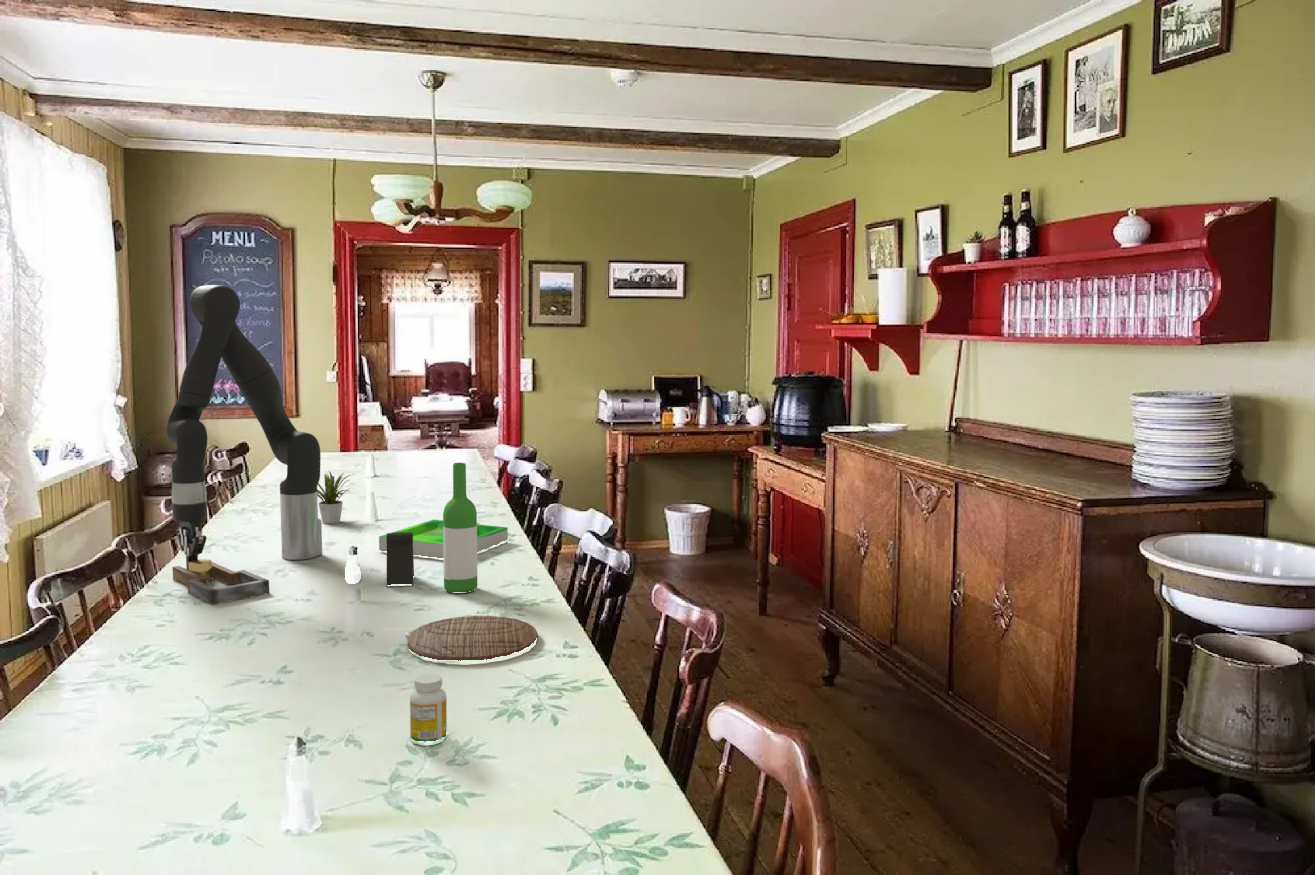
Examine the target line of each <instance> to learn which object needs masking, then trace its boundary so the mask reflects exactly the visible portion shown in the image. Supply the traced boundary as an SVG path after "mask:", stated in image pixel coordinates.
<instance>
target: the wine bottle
mask: <svg viewBox="0 0 1315 875" xmlns="http://www.w3.org/2000/svg"><path fill="white" fill-rule="evenodd" d="M477 514H478V512H477V509H476V506H475V504H474V503H473V501H471V499H469V498H468V497H467V464H466V463H465V462H454V463H453V464H452V498H451V499H450V500H449V501H447V502H446V504H445V506H444V508H443V512H442V520H443V557H444V561H443V588H444V590H445V591H446V590H447V591H449V592H469V591H472V590H474V589H475V590H477V588H478V555H477V524H478V520H477V519H478V518H477V517H478V516H477ZM475 590H474V591H475ZM447 591H446V592H447ZM449 592H448V593H449ZM472 592H473V591H472ZM469 593H470V592H469Z"/></svg>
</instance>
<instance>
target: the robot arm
mask: <svg viewBox="0 0 1315 875" xmlns="http://www.w3.org/2000/svg"><path fill="white" fill-rule="evenodd" d="M189 307H190V311H191V313H192V315H193V316H194V318H195V319H196V321H197V322H198V323H199V324H200V326H201V327H202V328H201V332H200V336H199V339H198V341H197V343H196V346H195V348H194V350H193V352H192V353H191V356H190V358H189V360H188V362H187V363H186V366H185V368H184V370H183V374H182V378H181V382H180V387H179V391H178V397H177V400H176V401H175V403H174V405H173V408H172V410H171V412H170V415H169V417H168V420H167V424H166V435H167V439H168V440H169V441H170V442H171V443H172V444H173V445H176V458H174V459H173V460H172V462H171V478H172V480H171V481H172V483H171V484H172V485H171V505H172V506H171V507H172V508H171V510H172V512H171V513H172V520H173V521H175V522H178V523H179V528H178V529H177V528H176V530H175V534H176V536H177V539H178V542H179V546H180V550H181V552H183V554H184V556H185V559H186V560H185V561H186V562H185V564H186V566H185V567H186V569H187V570H189V562H190V561H194V560H199V555H201V554H202V553H203V551H204V547H205V545H206V542H207V535H203V528H202V524H201V521H203V520H206V519H207V518H208V501H207V500H208V499H207V498H208V497H207V487H206V480H205V479H206V478H205V459H206V455H207V454H206V453H207V447H208V431H207V428H206V425H205V424H204V423H203V422H202V421H201V420H200V419H201V416H202V414H203V411H204V410H205V409H207V408H208V407H209V406H210V402H211V399H212V395H213V391H214V386H215V382H216V379H217V374H218V370H219V366H220V362H221V360H222V361H223V363H224V364H225V366H226V368H227V369H228V371H229V373H230V375H231V377H232V378H233V380H234V382H235V385H236V386H237V388H238V389H239V391H240V393H241V394H242V396H243V397H244V399H245V401H246V403H247V404H248V406H249V408H250V409H251V411H252V413H253V414H254V416H255V418H256V419H257V421H258V423H259V424H260V427H261V429H262V431H263V434H264V435H265V437H266V440H267V442H268V444H269V447H270V449H271V452H272V453H273V455H274V457H275V458H276V460H277V461H279V462H280V463H281V464H284V465H286V473H287V474H286V477H285V479H283V480H282V481H281V482H279V501H280V502H279V503H280V528H281V529H280V530H281V557H282V559H284V560H294V561H295V560H296V561H297V560H298V561H300V560H302V561H303V560H308V559H313V558H316V557H318V556H323V534H322V532H323V529H322V528H323V527H322V524H323V523H322V519H320V518H319V510H318V509H319V502H318V501H319V500H318V499H319V498H318V496H317V493H318V492H317V489H318V483H319V482H320V479H321V459H322V458H321V446H320V443H319V440H318V439H317V438H316V437H315V436H314V435H313V434H312V433H310V432H306V431H298V430H297V428H296V427H295V426H294V424H293V423H292V421H291V419H290V418H289V416H288V415H287V413H286V410H285V408H284V402H283V395H282V394H283V393H282V392H283V391H282V388H281V384H280V381H279V379H278V377H277V376H276V374H275V371H274V370H273V368H272V366H271V364H270V363H269V361H268V360H267V358H266V357H265V356H264V355H263V353H262V352H261V351H260V350H259V349H258V348H257V347H256V346H255V345H254V344H253V343H252V342H251V341H250V340H249V339H248V338H247V337H246V336H245V335H244V333H243V332H242V330H241V329H240V327H239V326H238V324H237V322H236V320H237V319H238V315H239V313H240V309H241V300H240V297H239V295H238V293H237V292H236V291H235V290H234V289H233V288H231V287H229V286H227V285H221V284H220V285H218V284H217V285H216V284H208V285H207V284H206V285H200V286H198V287H196V288H195V289H194V290H192V292H191V294H190V296H189ZM319 484H320V483H319Z"/></svg>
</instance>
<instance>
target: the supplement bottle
mask: <svg viewBox="0 0 1315 875" xmlns="http://www.w3.org/2000/svg"><path fill="white" fill-rule="evenodd" d="M413 686H414V689H415V690H414V691H412V692H411V694H410V697H409V709H410V710H409V716H410V723H409V724H410V726H409V728H410V730H409V731H410V739H411V738H412V739H413V740H415V741H425V742H426V741H436V740H439V739H441V738H442V737H445V736H446V732H447V731H448V730H447V726H448V725H447V720H448V719H447V714H448V713H447V706H448V704H447V692H446V691H445V690H444V688H442V686H443V677H442V675H440V674H437V673H423V674H419V675H418V676H417V675H416V677H414V685H413ZM447 733H448V732H447ZM446 737H447V736H446Z"/></svg>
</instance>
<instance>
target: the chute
mask: <svg viewBox="0 0 1315 875" xmlns="http://www.w3.org/2000/svg"><path fill="white" fill-rule="evenodd" d="M171 569H172V579H173V580H174V579H176V580H177V582H178V581H179V583H180V582H181V584H182V585H184V584H185V586H186V585H187V586H186V588H187V594H189V593H190V594H189V595H191V594H192V595H191V596H193V597H195V596H196V597H195V598H197V597H198V598H197V599H200V601H203V602H205V601H206V602H205V603H207V602H208V604H209V605H213V606H214V605H218V604H223V603H226V602H227V601H228V602H232V601H237V600H242V598H243V599H246V597H248V598H252V597H251V596H253V597H257V595H258V596H262V595H261V594H263V595H265V594H264V593H268V594H270V580H269V579H267V578H265V577H262V576H259V575H258V574H255V573H253V572H251V571H248V570H245V569H241V570H237V571H236V570H235V571H234V570H232V569H230V568H228V567H224V566H223V565H221V564H217V563H216V562H213V561H212V577H213V578H212V579H214V578H215V580H216V579H218V580H217V581H219V580H220V581H219V582H220V583H221V582H222V583H223V584H225V585H227V584H228V585H227V586H223V587H217V588H215V587H212V586H210V585H208V582H207V578H205V577H202V576H200V575H198V574H196V573H194V572H192V571H189V570H187V568H185V567H184V566H183V567H182V566H180V565H177V566H176V565H175V566H172V568H171ZM176 580H175V581H176ZM230 585H231V586H230ZM222 602H223V603H222Z"/></svg>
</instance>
